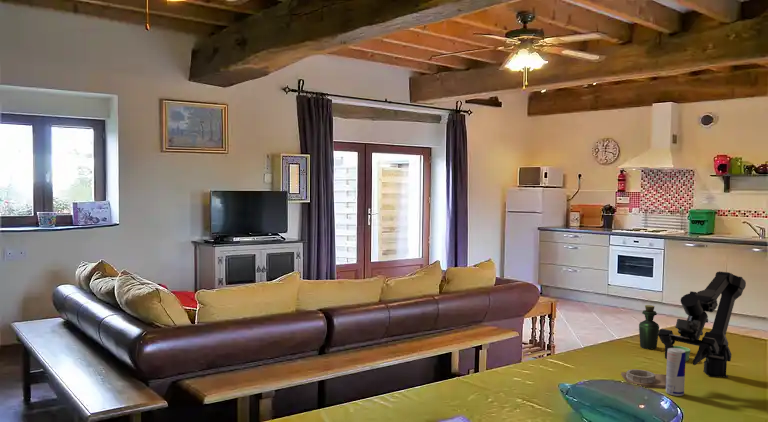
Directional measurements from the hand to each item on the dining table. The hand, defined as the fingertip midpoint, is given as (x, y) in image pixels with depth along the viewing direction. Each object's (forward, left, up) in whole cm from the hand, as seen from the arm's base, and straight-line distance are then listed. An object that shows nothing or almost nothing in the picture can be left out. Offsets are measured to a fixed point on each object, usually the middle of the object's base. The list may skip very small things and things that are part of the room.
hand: (679, 361), depth 212 cm
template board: (+7, -10, -11) cm, 16 cm away
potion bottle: (-6, -59, -11) cm, 60 cm away
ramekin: (-13, -43, -11) cm, 47 cm away
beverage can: (+2, +2, -11) cm, 11 cm away
